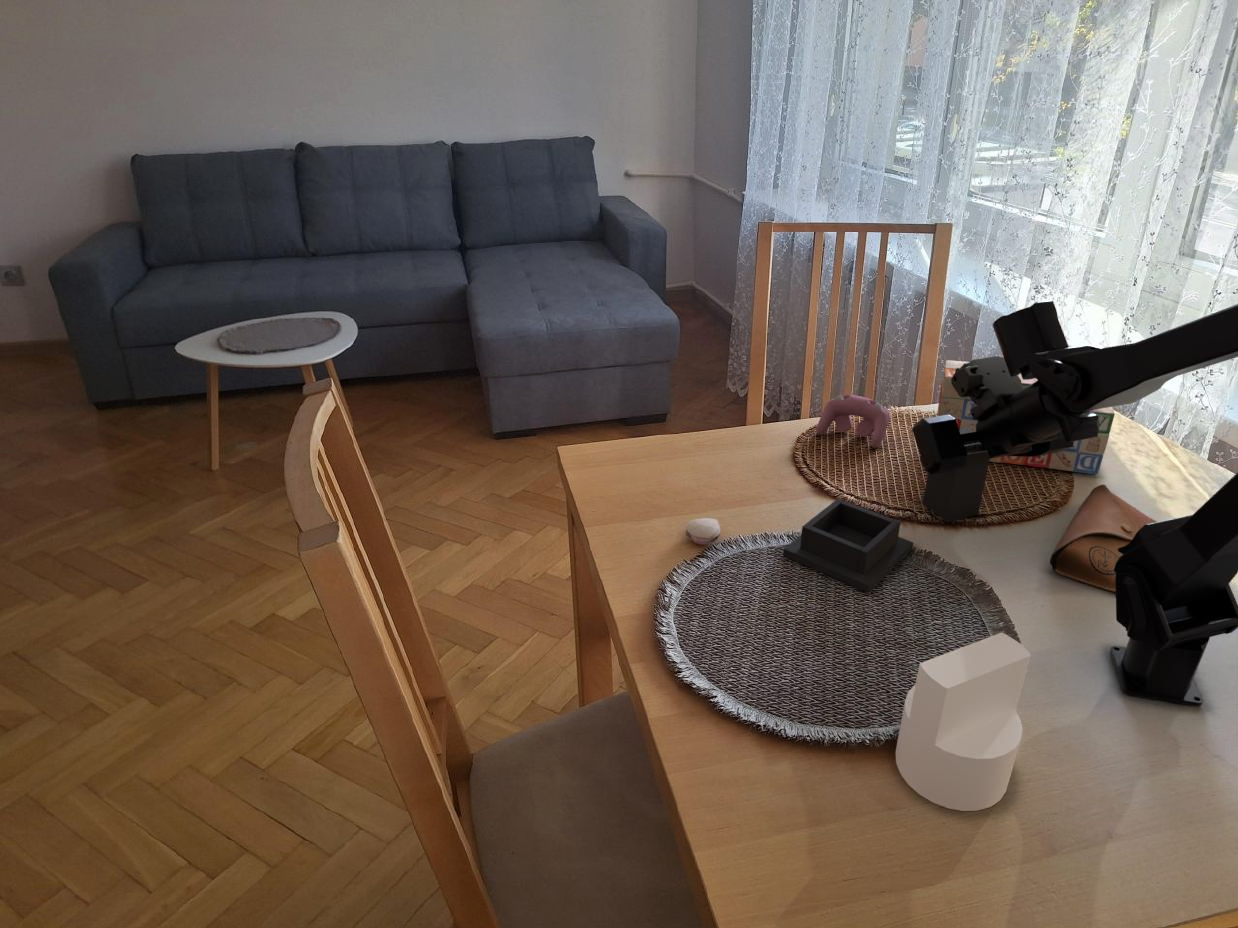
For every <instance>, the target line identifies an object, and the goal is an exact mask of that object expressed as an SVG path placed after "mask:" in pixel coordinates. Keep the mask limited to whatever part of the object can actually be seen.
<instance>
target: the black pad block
mask: <svg viewBox="0 0 1238 928" xmlns="http://www.w3.org/2000/svg"><path fill="white" fill-rule="evenodd" d="M959 431H960V434H965V433H971V432H973V431H971V430H970V429H968V428H967V429H961V430H959ZM974 444H978V443H974ZM974 444H973V445H974ZM979 444H980V443H979ZM968 445H972V444H968ZM968 445H964V446H968ZM989 465H990V456H989V454H988V451H986V452H980V453H974V454H968V457H967V461H966V466H964V467H962V468H960V469H957V470H955V471H950V472H944V473H938V474H932V475H931V474H929V473H928V472H927V476H926V482H925V486H924V493H923V500H922V504H924V505H925V506H926V507H927V508H929V509H930V510H931V511H932V512H933V513H935V514H936V515H937V516H938V517H939V518H940V519H941V520H943V521H944V522H950V521H954V520H960V519H964V518H969V517H975V516H978V515H979V512H980V507H981V504H982V503H981V502H982V498H983V494H984V489H985V483H986V479H987V475H988V469H989Z"/></svg>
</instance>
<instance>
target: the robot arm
mask: <svg viewBox="0 0 1238 928" xmlns="http://www.w3.org/2000/svg"><path fill="white" fill-rule="evenodd" d="M992 329H993V332H994V334H995V337H996V340H997V343H998V345H999V348H1000V351H1001V353H1002V356H999V355H995V356H987V357H980V358H974V359H971V361H969V362H968V363H965V364H963V366H962V367H960V368H957V369H956V370H955V374H954V375H953V377H952V379H951V384H952V385H953V387H954V388H955V390H956V392H957V393H958V395H959V396H960V397H970V398H971V400H972V401H973V402H974V403H975V404H976V405H977V406H975V407H973V408H972V409H970V412H971V415H972V418H973V419H974V420H976V419H977V421H978V423H976V432H971V433H965V434H960V431H959V428H958V425H957V422H956V419H955V418H953V417H952V416H950V415H949V414H948V415H942V416H937V415H936V416H931V417H930V416H929V417H925V418H921V419H920V420H918V421H917V422H915V423H914V424H913V427H912V428H911V430H912V433H913V437H914V440H915V443H916V447H917V449H918V452H919V456H920V457H919V461H920V464H921V467H923V468H924V471H925V472H926V473H927V474H928V473H929V474H931V475H932V474H938V473H944V472H950V471H955V470H957V469H960V468H962V467H964V466H966V461H967V457H968V454H974V453H980V452H986V451H988V454H989V456H990V459H991V458H997V457H1003V456H1023V457H1034V456H1040V455H1045V454H1051V453H1056V452H1062V451H1064V450H1066V449H1069V448H1071V447H1073V444H1074V441H1078V440H1084V439H1090V438H1095V437H1097V436H1098V431H1099V426H1098V420H1099V416H1098V415H1096V414H1094V413H1093V410H1096V409H1102V408H1108V407H1113V408H1115V407H1118V406H1125V405H1131V404H1134V403H1137V402H1138V401H1140V400H1142V399H1144V398H1146V397H1148V396H1149V395H1151V394H1154V393H1155V392H1157V391H1159V390H1160V389H1161V388H1162V387H1163V386H1164V385H1165V384H1166V383H1167V382H1168V381H1170V380H1172V379H1174V378H1177V377H1178V376H1181V375H1184V374H1188V373H1191V372H1195V371H1197V370H1200V369H1204V368H1207V367H1210V366H1214V365H1217V364H1220V363H1223V362H1226V361H1230V360H1232V359H1236V358H1238V303H1237V304H1233V305H1231V306H1228V307H1225V308H1223V309H1220V310H1218V311H1215V312H1213V313H1212V312H1211V313H1210V314H1207V315H1204V316H1202V317H1199V318H1197V319H1194V320H1192V321H1188V322H1186V323H1183V324H1181V325H1178V326H1175V327H1173V328H1170V329H1168V330H1166V331H1161V332H1160V333H1157V334H1155V335H1152V336H1149V337H1147V338H1143V339H1141V340H1139V341H1136V342H1133V343H1127V344H1120V345H1113V346H1108V347H1107V346H1106V347H1103V346H1100V345H1099V346H1098V345H1095V344H1085V345H1080V346H1073V347H1070V346H1069V343H1068V341H1067V338H1066V336H1065V333H1064V331H1063V328H1062V325H1061V322H1060V320H1059V316H1058V312H1057V308H1056V305H1055V302H1054V301H1053V300H1051V299H1050V300H1042V301H1036V302H1035V303H1033V304H1031V305H1030V306H1027V307H1024V308H1021V309H1018V310H1016V311H1012V312H1011V313H1008V314H1006V315H1002V316H1000V317H998V318H996V319H995V320H994V321H993V323H992ZM1019 374H1021V376H1022V378H1023V379H1024V380H1028V379H1034V378H1036V379H1037V380H1038V381H1036V382H1034V383H1033V384H1031V385H1029V386H1028V387H1026V388H1023V386H1022V382H1021V379H1020V378H1019V377H1018V375H1019ZM974 443H978V444H974ZM979 443H980V444H979ZM968 444H972V445H968ZM973 444H974V445H973ZM964 445H968V446H964ZM1118 551H1119V552H1120V553H1122V554H1123V555H1122V556H1120V557H1119V559H1118V560H1117V562H1116V564H1115V567H1114V572H1115V573H1116V578H1115V587H1116V592H1115V619H1116V622H1117V623H1118V624H1120V626H1122V627H1124V628H1125V631H1126V636H1127V637H1128V641H1127V644H1126V646H1120V645H1112V646H1111V647H1110V648H1109V652H1110V656H1111V659H1112V662H1113V665H1114V668H1115V671H1116V674H1117V678H1118V681H1119V684H1120V686H1121V691H1122V692H1123V693H1124V694H1126V695H1129V696H1133V697H1141V698H1147V699H1152V700H1158V701H1164V702H1169V703H1177V704H1180V705H1181V704H1182V705H1189V706H1194V707H1202V705H1203V704H1204V699H1203V696H1202V694H1201V691H1200V689H1199V687H1198V685H1197V682H1196V680H1195V676H1196V673H1197V670H1198V669H1199V666H1200V662H1201V661H1202V658H1203V657H1204V656H1203V655H1204V653H1205V651H1206V648H1207V646H1208V644H1209V641H1210V638H1212V637H1215V636H1216V637H1217V636H1219V635H1220V636H1221V635H1227V634H1232V633H1233V632H1234V631H1236V630H1237V629H1238V602H1237V599H1236V597H1235V594H1234V593H1233V589H1232V588H1231V585H1230V583H1231V582H1232V580H1233V579H1234V578H1235V577H1236V576H1237V574H1238V471H1237V472H1236V473H1235V474H1234V475H1233V476H1232V477H1231V478H1229V480H1228V481H1227V482H1226V483H1225V484H1223V486H1222V487H1220V488H1219V489H1218V490H1217V491H1216V492H1215V493H1214V494H1213V495H1212V496H1211V497H1209V499H1208V500H1206V502H1204V503H1203V504H1202V505H1201V506H1200V507H1199V508H1198V509H1197V510H1196V511H1195V512H1194V513H1193V514H1189V515H1185V516H1184V515H1183V516H1180V517H1175V518H1171V519H1165V520H1161V521H1156V523H1151V524H1146V525H1144V526H1143V527H1142V528H1141V529H1140V530H1138V532H1137V533H1136V535H1135V536H1134V538H1133V539H1132V541H1131V542H1130V543H1129V544H1127V545H1126V546H1124V547H1120V548H1118Z"/></svg>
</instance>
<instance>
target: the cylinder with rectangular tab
mask: <svg viewBox="0 0 1238 928" xmlns="http://www.w3.org/2000/svg"><path fill="white" fill-rule="evenodd" d="M1031 657H1032V654H1031V653H1030V652H1029V650H1028V649H1026V647H1025V646H1023V645H1022V643H1020V642H1019V641H1017V640H1016V639H1014V638H1012V637H1011V636H1010V635H1007V634H1006V633H1004V632H1000V633H996V634H994V635H992V636H988V637H986V638H983V639H981V640H978V641H975V642H972V643H969V644H967V645H965V646H963V647H959V648H957V649H955V650H951V651H949V652H946V653H944V654H941V655H938V656H936V657H933V658H931V659H928V660H925V661H923V662H920V663H919V666H918V670H917V675H916V679H915V684H914V685H913V686H912V687H911V688H910V689H909V690H908V692H907V693H906V698H905V700H904V704H903V709H902V714H901V719H900V726H899V731H898V736H897V742H896V748H895V764H896V767H897V769H898V772H899V774H900V776H901V777H902V778H903V779H904V781H905V783H906V784H907V785H908V786H909V787H910V788H911V789H912V790H913V791H915V792H916V793H917V794H918V795H919V796H920V797H922V798H924V799H926V800H927V801H929V802H931V803H932V804H935V805H937V806H941V807H943V808H946V809H948V810H949V809H950V810H956V811H962V812H974V811H975V812H976V811H981V810H984V809H988V808H991V807H993V806H994V805H995V804H997V803H998V802H1000V801H1001V800H1002V798H1003V797H1004V795H1005V794H1006V792H1007V790H1008V786H1009V783H1010V779H1011V775H1012V772H1013V769H1014V765H1015V762H1016V758H1017V755H1018V751H1019V748H1020V744H1021V742H1022V741H1021V740H1022V735H1023V725H1022V721H1021V718H1020V716H1019V714H1018V713H1017V708H1018V704H1019V701H1020V697H1021V693H1022V690H1023V686H1024V683H1025V680H1026V676H1027V672H1028V669H1029V665H1030V661H1031Z"/></svg>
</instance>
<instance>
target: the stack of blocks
mask: <svg viewBox="0 0 1238 928" xmlns="http://www.w3.org/2000/svg"><path fill="white" fill-rule="evenodd" d="M965 363H969V361H961V360H949V359H947V360H945V366H944V372H943V379H942V380H941V384H940V390H939V397H938V406H937V412H936V416H942V415H948V414H949V415H950V416H952V417H953V418H955V419H956V422H957V425H958V428H959V430H961V429H967V428H968V429H970V430H971V431H973V432H976V423H978V421H977V419H976V420H974V419H973V418H972V415H971V412H970V409H972V408H973V407H975V406H977V405H976V404H975V403H974V402H973V401H972V400H971V398H970V397H960V396H959V395H958V393H957V392H956V390H955V388H954V387H953V385H952V384H951V379H952V377H953V375H954V374H955V370H956V369H957V368H960V367H962V366H963V364H965ZM1018 377H1019V378H1020V379H1021V382H1022V386H1023V388H1026V387H1028V386H1029V385H1031V384H1033V383H1034V382H1036V381H1038V380H1037V379H1036V378H1034V379H1028V380H1024V379H1023V378H1022V376H1021V374H1019V375H1018ZM1093 413H1094V414H1096V415H1098V416H1099V420H1098V426H1099V431H1098V436H1097V437H1095V438H1090V439H1084V440H1078V441H1074V444H1073V447H1071V448H1069V449H1066V450H1064V451H1062V452H1056V453H1051V454H1045V455H1040V456H1034V457H1023V456H1003V457H997V458H991V459H990V461H989V463H990V462H991V463H1000V464H1001V463H1003V464H1011V465H1019V466H1029V467H1036V468H1042V469H1043V468H1044V469H1050V470H1051V469H1052V470H1057V471H1058V470H1059V471H1067V472H1075V473H1080V474H1081V473H1082V474H1088V475H1089V474H1090V475H1098V474H1099V471H1100V470H1101V469H1100V468H1101V465H1102V461H1103V458H1104V455H1105V452H1106V448H1107V446H1108V442H1109V438H1110V433H1111V429H1112V427H1113V422H1114V419H1115V415H1116V413H1115V410H1114V407H1108V408H1102V409H1096V410H1093Z"/></svg>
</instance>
